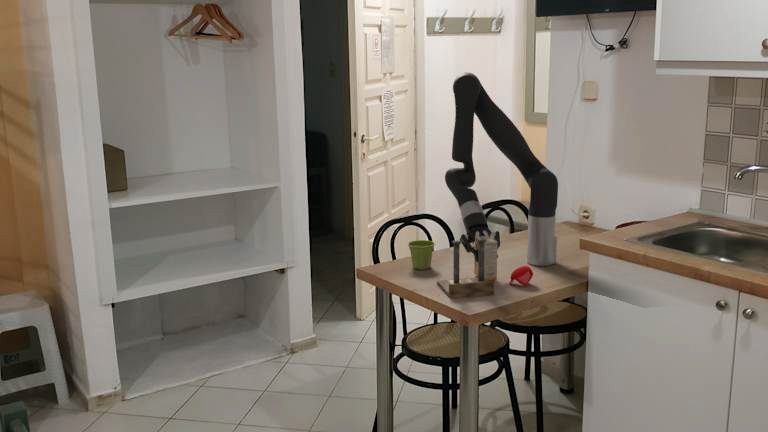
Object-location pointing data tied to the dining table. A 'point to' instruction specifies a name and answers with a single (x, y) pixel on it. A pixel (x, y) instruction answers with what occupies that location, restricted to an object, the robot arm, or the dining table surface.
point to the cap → (522, 275)
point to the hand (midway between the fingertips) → (487, 260)
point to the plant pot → (421, 253)
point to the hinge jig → (467, 285)
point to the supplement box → (488, 259)
